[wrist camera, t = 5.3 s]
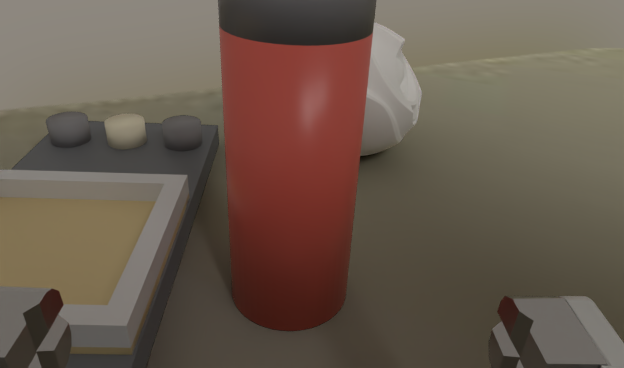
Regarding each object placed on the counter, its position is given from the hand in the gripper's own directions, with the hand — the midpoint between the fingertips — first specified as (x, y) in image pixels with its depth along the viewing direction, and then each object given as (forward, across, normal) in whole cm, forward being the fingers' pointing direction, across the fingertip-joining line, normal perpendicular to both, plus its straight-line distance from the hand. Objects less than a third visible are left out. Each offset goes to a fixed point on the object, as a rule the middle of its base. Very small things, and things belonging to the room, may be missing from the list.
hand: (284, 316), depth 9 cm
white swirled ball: (+20, -4, +7) cm, 22 cm away
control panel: (+11, +9, +6) cm, 16 cm away
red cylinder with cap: (+8, 0, +6) cm, 10 cm away
